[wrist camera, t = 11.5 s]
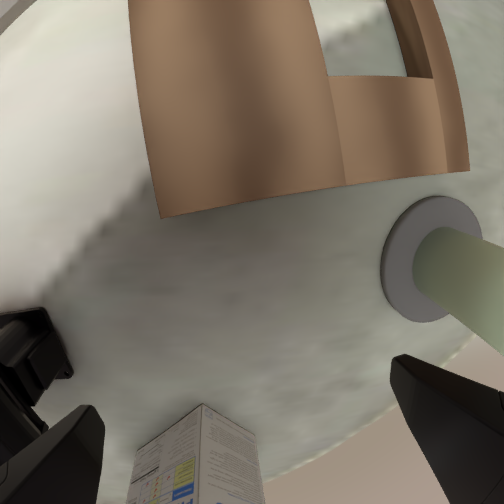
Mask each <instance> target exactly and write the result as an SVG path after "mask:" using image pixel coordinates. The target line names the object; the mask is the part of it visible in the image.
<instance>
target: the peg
mask: <svg viewBox="0 0 504 504" xmlns="http://www.w3.org/2000/svg"><path fill="white" fill-rule="evenodd" d="M412 273H413V279H414V283H415V285H416V287H417V288H418V289H419V291H420V292H422V293H423V294H424V295H426V296H427V297H429V298H430V299H431V300H433V301H434V302H435V303H437V304H438V305H439V306H441V307H442V308H443V309H445V310H446V311H447V312H449V313H450V314H451V315H452V316H454V317H455V318H456V319H458V320H459V321H460V322H462V323H463V324H464V325H465V326H467V327H468V328H469V329H470V330H472V331H473V332H474V333H476V334H477V335H478V336H479V337H481V338H482V339H483V340H484V341H486V342H487V343H488V344H489V345H491V346H492V347H493V348H494V349H495V350H497V351H498V352H499V353H500V354H501V355H503V356H504V248H503V247H500V246H498V245H495V244H493V243H490V242H488V241H485V240H483V239H480V238H477V237H475V236H472V235H470V234H467V233H464V232H461V231H459V230H456V229H453V228H450V227H440V228H437V229H435V230H433V231H431V232H430V233H429V234H428V235H427V236H426V237H425V238H424V239H423V240H422V242H421V243H420V245H419V247H418V249H417V251H416V253H415V256H414V260H413V268H412Z"/></svg>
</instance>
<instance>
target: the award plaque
mask: <svg viewBox="0 0 504 504" xmlns="http://www.w3.org/2000/svg"><path fill="white" fill-rule="evenodd" d="M35 1H36V0H0V35H1V34H2V33H3V32H4V31H5V30H6V29H7V28H8V27H9V26H10V25H11V24H12V23H13V22H14V21H15V20H16V19H17V18H18V17H19V16H20V15H21V14H22V13H23V12H24V11H25V10H26V9H27V8H28V7H30V6H31V5H32V4H33V3H34V2H35Z"/></svg>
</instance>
